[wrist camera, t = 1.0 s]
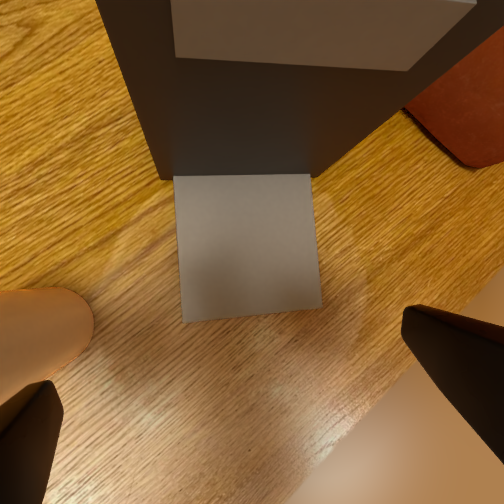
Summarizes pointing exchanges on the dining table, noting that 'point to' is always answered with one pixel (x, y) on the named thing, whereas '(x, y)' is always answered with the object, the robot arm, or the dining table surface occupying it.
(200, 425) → the dining table surface
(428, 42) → the coffee maker
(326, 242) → the dining table surface
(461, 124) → the bread
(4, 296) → the beige cylinder
